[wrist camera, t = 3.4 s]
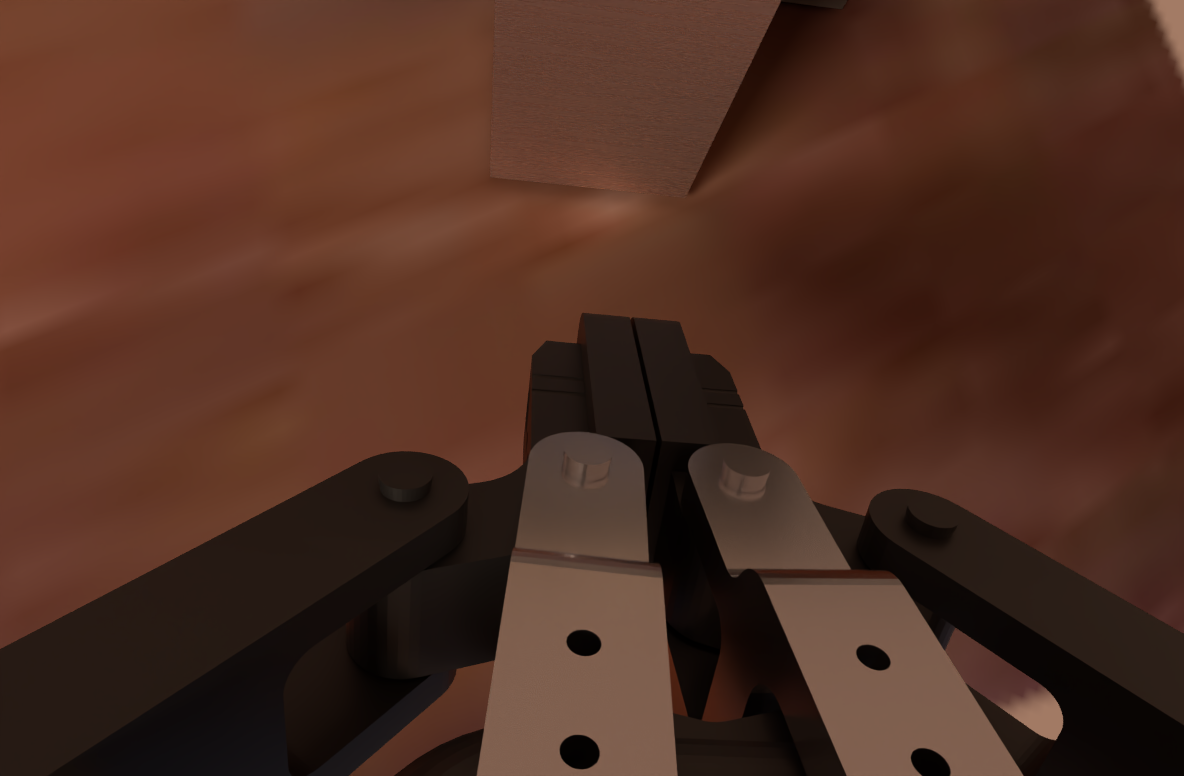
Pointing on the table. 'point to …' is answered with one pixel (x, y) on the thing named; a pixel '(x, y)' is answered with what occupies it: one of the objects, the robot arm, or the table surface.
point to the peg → (617, 88)
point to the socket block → (821, 3)
